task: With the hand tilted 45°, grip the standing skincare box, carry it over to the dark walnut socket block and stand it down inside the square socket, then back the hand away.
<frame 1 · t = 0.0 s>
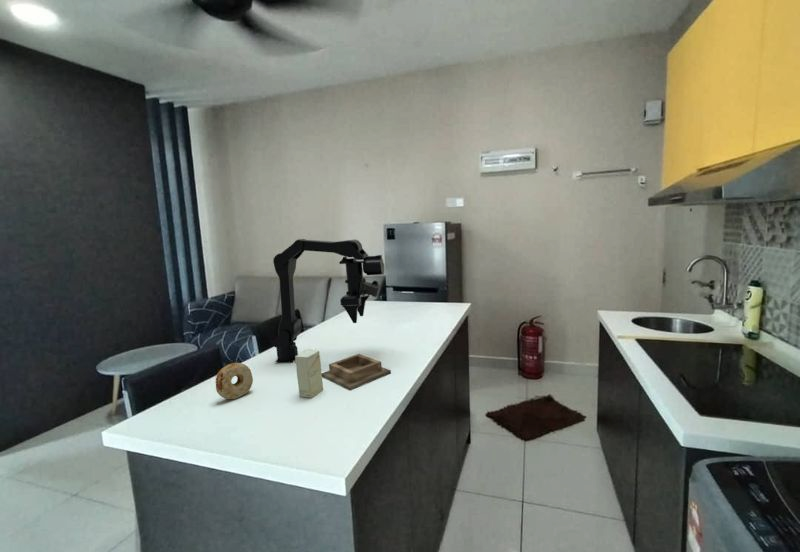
hand: (358, 319, 135), 15 cm above the worktop, tool pointing down, fingers open, 9 cm apart
skincare box: (311, 393, 112), on the worktop
stone disc: (237, 397, 113), on the worktop
socket: (356, 374, 123), on the worktop
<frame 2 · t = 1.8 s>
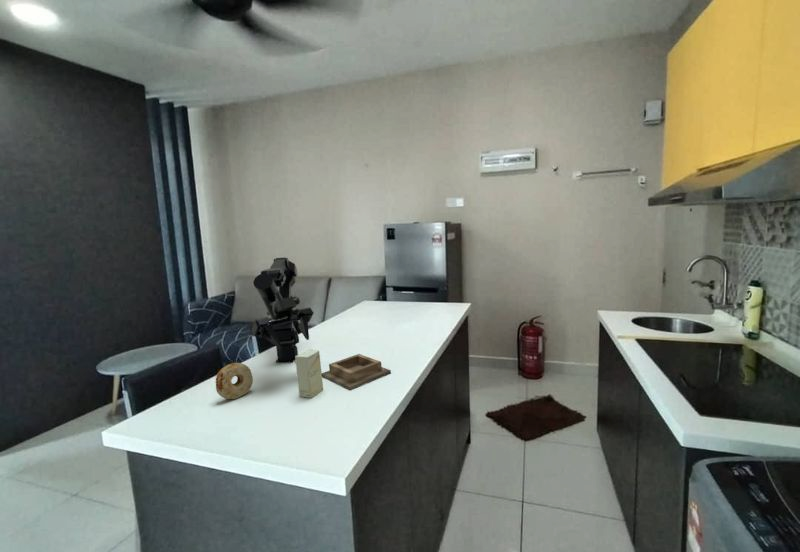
hand: (294, 343, 116), 13 cm above the worktop, tool tilted 45°, fingers open, 9 cm apart
nothing on the worktop moved.
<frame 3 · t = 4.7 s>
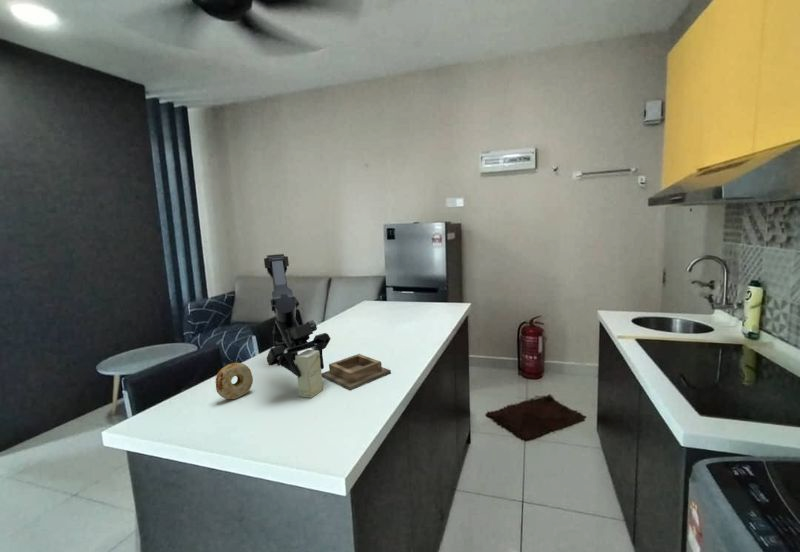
hand: (311, 372, 110), 7 cm above the worktop, tool tilted 45°, fingers closed on skincare box, 7 cm apart
skincare box: (311, 393, 112), on the worktop, touching gripper
everything else where it was.
when the fingers open (8 cm above the worktop, at t = 9.7 s): skincare box stays where it is, resting on socket.
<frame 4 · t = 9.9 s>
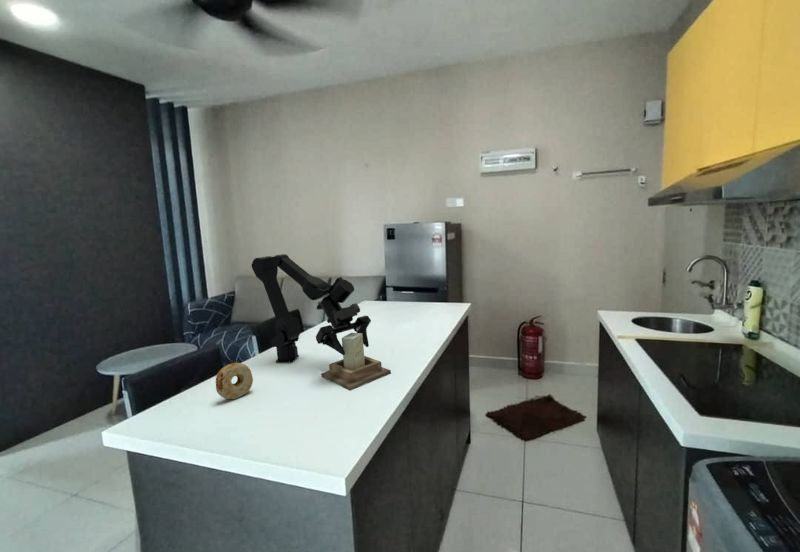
hand: (356, 350, 121), 9 cm above the worktop, tool tilted 45°, fingers open, 9 cm apart
skincare box: (355, 372, 123), point 1 cm above the worktop, touching socket
everything else where it was.
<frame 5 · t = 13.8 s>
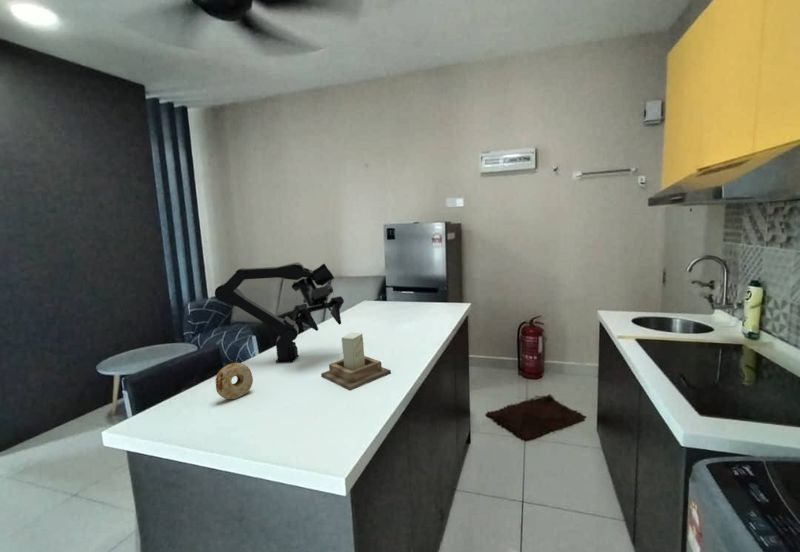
hand: (329, 326, 132), 14 cm above the worktop, tool tilted 45°, fingers open, 9 cm apart
nothing on the worktop moved.
at the end: skincare box 0.2 cm off-centre on the socket, point 0.8 cm above the socket's base; skincare box tilted 0°; the gripper is holding nothing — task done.
